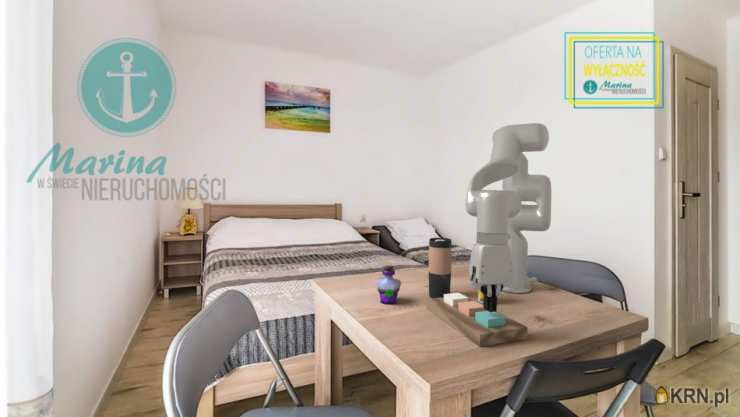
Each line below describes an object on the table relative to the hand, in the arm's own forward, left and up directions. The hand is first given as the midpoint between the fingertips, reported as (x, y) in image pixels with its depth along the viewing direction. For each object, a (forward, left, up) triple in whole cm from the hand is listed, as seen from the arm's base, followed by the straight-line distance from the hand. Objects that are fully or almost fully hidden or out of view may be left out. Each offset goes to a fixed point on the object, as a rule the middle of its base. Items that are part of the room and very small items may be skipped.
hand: (489, 310), depth 88 cm
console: (0, -8, -6) cm, 10 cm away
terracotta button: (0, -8, -4) cm, 9 cm away
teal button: (0, 0, -4) cm, 4 cm away
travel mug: (-3, -31, -7) cm, 32 cm away
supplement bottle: (-15, -21, -7) cm, 27 cm away
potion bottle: (+16, -31, -7) cm, 36 cm away
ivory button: (0, -16, -4) cm, 17 cm away
